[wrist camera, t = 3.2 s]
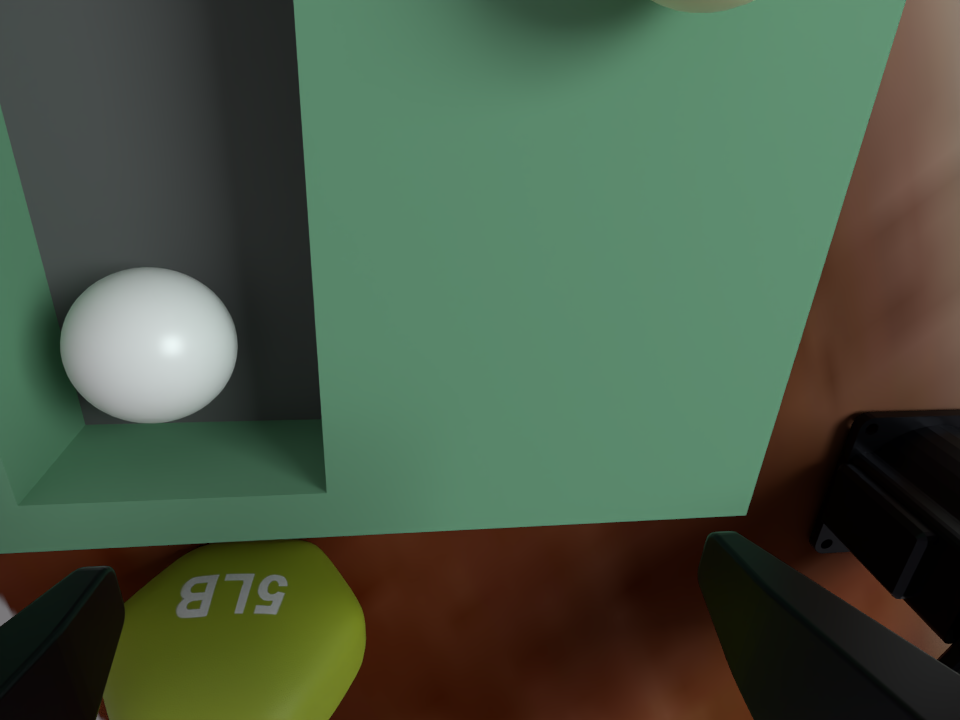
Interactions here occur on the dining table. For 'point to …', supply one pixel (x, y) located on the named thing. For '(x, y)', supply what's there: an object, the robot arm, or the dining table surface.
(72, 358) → the white ball
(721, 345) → the putting mat
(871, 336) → the dining table surface
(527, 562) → the dining table surface
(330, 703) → the dumbbell
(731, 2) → the yellow ball
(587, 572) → the dining table surface
